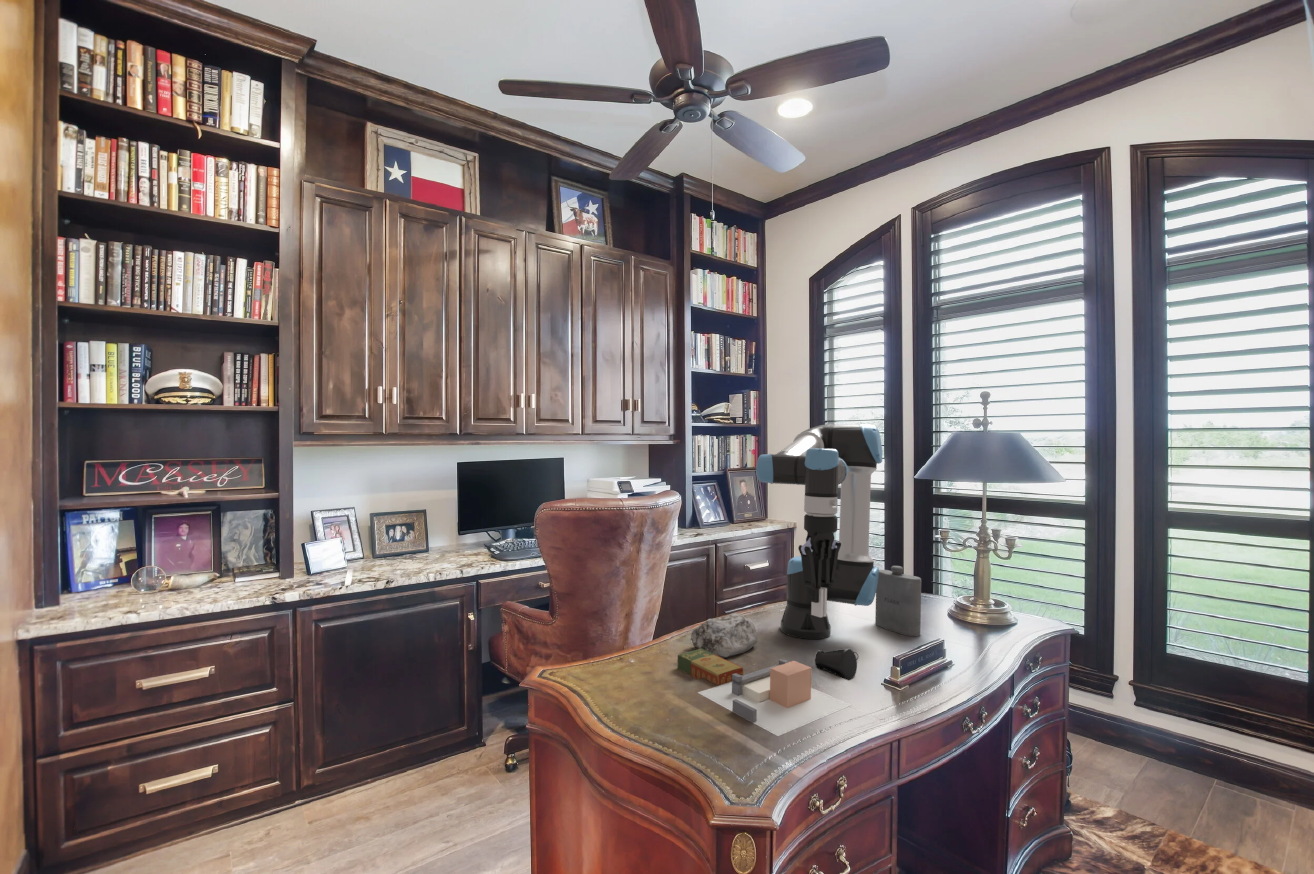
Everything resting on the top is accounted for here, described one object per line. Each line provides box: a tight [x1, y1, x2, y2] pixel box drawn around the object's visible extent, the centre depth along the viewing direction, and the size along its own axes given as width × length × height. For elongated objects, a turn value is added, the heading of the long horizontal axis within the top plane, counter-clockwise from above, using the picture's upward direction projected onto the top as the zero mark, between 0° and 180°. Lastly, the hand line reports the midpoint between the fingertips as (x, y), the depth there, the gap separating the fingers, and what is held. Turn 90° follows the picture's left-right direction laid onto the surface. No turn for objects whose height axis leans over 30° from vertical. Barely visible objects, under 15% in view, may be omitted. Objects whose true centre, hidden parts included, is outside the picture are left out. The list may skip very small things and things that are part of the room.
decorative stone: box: [690, 612, 758, 659], centre depth 168 cm, size 20×14×10 cm
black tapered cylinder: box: [814, 647, 859, 681], centre depth 154 cm, size 8×18×8 cm
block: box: [770, 660, 812, 708], centre depth 132 cm, size 5×8×7 cm, turn 127°
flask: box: [874, 565, 922, 637], centre depth 187 cm, size 15×6×20 cm, turn 34°
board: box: [697, 658, 852, 737], centre depth 132 cm, size 24×24×5 cm
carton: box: [676, 648, 744, 686], centre depth 148 cm, size 8×16×4 cm, turn 35°
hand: (818, 615), depth 138 cm, fingers closed
